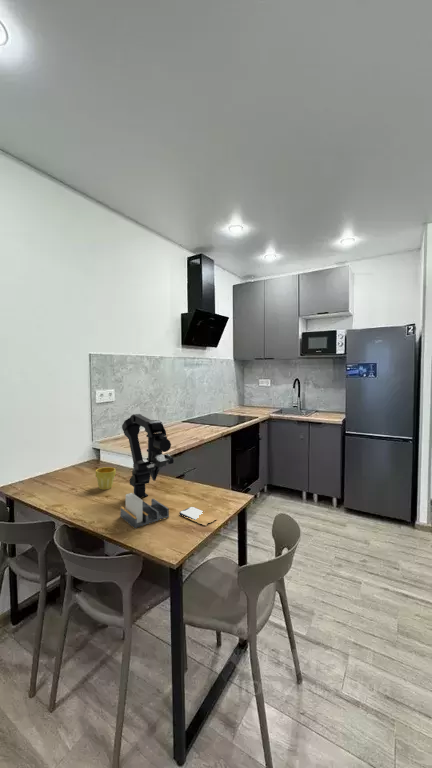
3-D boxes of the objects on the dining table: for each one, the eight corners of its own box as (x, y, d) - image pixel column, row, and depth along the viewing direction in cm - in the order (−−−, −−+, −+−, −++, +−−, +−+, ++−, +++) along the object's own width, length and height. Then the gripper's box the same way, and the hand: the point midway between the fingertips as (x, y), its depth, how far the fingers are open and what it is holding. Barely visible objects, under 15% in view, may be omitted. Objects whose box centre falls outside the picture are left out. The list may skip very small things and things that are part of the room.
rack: (120, 516, 139) (120, 506, 139) (153, 506, 149) (153, 497, 149) (134, 528, 128) (134, 518, 128) (168, 517, 139) (169, 507, 139)
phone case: (218, 520, 138) (192, 509, 148) (218, 517, 138) (192, 505, 148) (204, 528, 131) (177, 515, 141) (204, 524, 131) (178, 512, 141)
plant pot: (118, 484, 178) (118, 467, 178) (110, 491, 168) (110, 473, 167) (100, 483, 179) (100, 466, 179) (91, 490, 169) (91, 472, 168)
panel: (125, 514, 139) (125, 494, 138) (132, 512, 140) (132, 492, 140) (135, 523, 131) (135, 501, 130) (142, 521, 133) (142, 500, 132)
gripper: (144, 454, 138) (144, 490, 138) (180, 447, 150) (180, 480, 150) (132, 449, 146) (132, 482, 147) (167, 443, 158) (167, 474, 159)
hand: (154, 480), depth 150 cm, fingers closed
